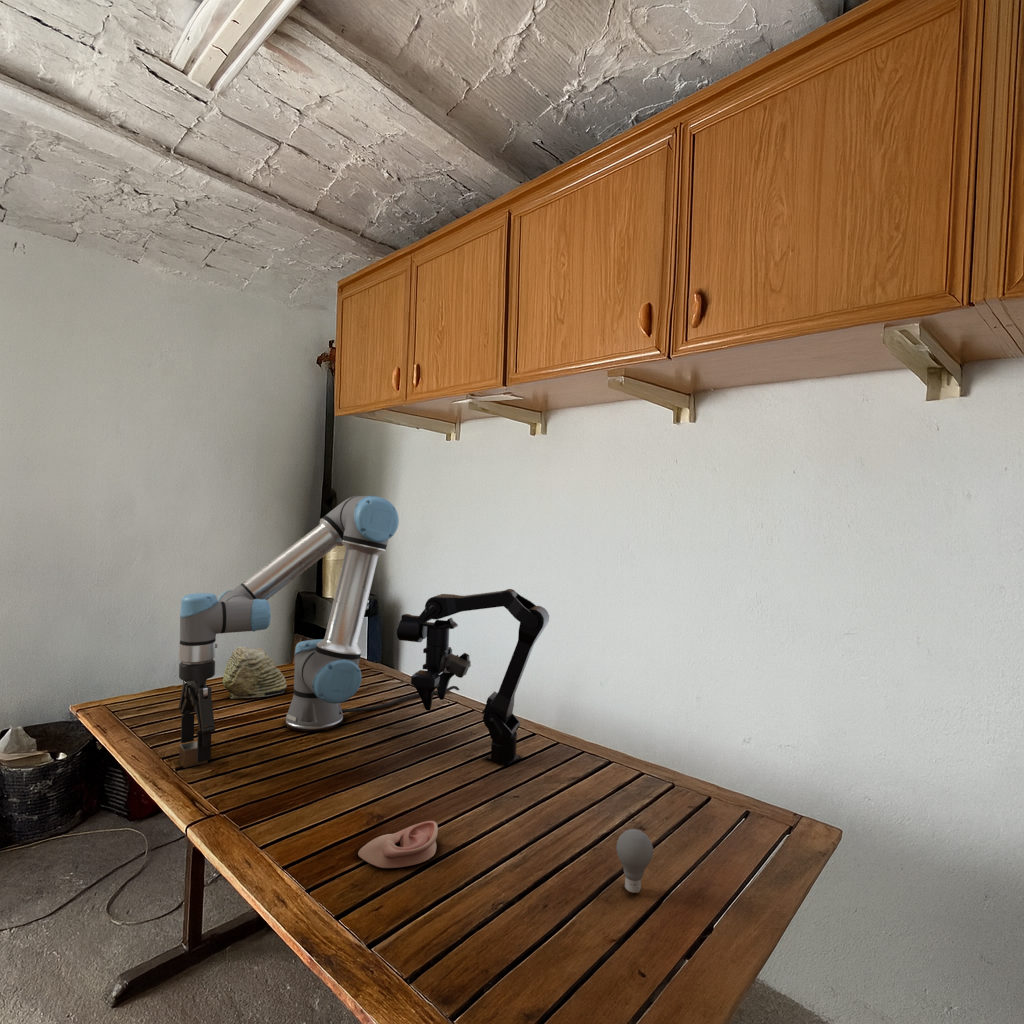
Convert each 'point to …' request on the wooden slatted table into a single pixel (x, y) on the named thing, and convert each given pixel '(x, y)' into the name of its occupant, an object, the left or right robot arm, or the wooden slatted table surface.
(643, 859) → the light bulb
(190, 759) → the block
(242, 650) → the fossil
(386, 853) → the anatomical model
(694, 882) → the wooden slatted table surface
